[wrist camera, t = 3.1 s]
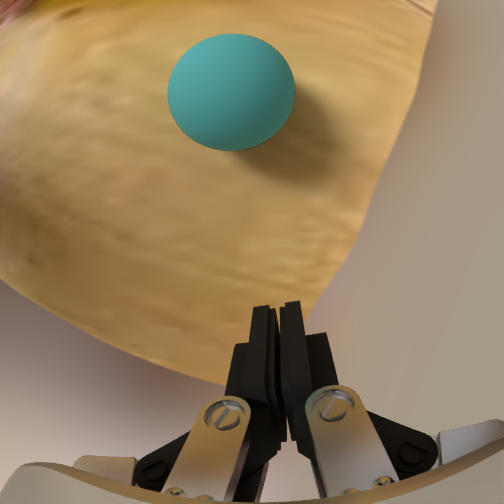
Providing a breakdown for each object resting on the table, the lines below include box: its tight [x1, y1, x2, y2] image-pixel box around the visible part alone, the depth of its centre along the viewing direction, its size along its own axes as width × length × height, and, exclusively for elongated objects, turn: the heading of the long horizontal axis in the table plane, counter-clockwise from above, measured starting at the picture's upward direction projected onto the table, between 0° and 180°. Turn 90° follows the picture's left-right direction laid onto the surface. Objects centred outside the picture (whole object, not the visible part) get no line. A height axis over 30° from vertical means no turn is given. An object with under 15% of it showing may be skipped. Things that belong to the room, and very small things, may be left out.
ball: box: [168, 34, 295, 151], centre depth 11 cm, size 6×6×6 cm
